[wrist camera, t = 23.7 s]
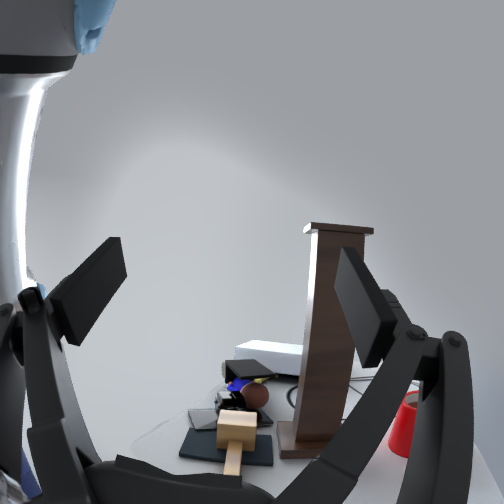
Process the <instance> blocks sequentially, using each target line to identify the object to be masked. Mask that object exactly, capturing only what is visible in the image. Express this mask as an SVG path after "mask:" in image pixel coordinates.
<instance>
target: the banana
mask: <svg viewBox="0 0 504 504" xmlns="http://www.w3.org/2000/svg"><path fill="white" fill-rule="evenodd" d="M278 376H279V375H278V374H276V377H278ZM266 379H268V378H261V379H255V380H254V381H255V382H258V383H262V382H263V381H264V380H266Z"/></svg>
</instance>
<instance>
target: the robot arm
mask: <svg viewBox="0 0 504 504" xmlns="http://www.w3.org/2000/svg"><path fill="white" fill-rule="evenodd" d="M116 1H117V0H0V504H342V503H343V502H344V500H345V499H346V498H347V496H348V495H349V494H350V492H351V491H352V490H353V488H354V487H355V485H356V483H357V482H358V478H359V476H360V474H361V473H362V471H363V470H364V468H365V467H366V465H367V464H368V462H369V460H370V459H371V457H372V456H373V454H374V452H375V451H376V449H377V448H378V446H379V444H380V442H381V441H382V439H383V437H384V436H385V434H386V432H387V430H388V428H389V427H390V425H391V423H392V421H393V419H394V417H395V415H396V413H397V411H398V409H399V407H400V405H401V403H402V401H403V399H404V397H405V395H406V393H407V390H408V388H409V386H410V384H411V382H412V380H418V381H420V385H419V395H418V404H417V412H416V419H415V426H414V432H413V437H412V443H411V448H410V453H409V458H408V462H407V466H406V470H405V474H404V478H403V482H402V486H401V489H400V493H399V496H398V499H397V503H396V504H467V500H468V494H469V487H470V479H471V470H472V458H473V439H474V437H473V436H474V411H473V391H472V378H471V368H470V360H469V352H468V345H467V341H466V339H465V338H464V337H463V336H462V335H461V334H459V333H458V332H455V331H448V332H446V333H444V335H443V337H442V339H438V338H432V337H428V335H427V332H426V331H425V330H424V329H423V328H421V327H420V326H418V325H414V324H412V323H411V321H410V319H409V318H408V316H407V314H406V313H405V311H404V309H403V308H402V306H401V304H400V303H399V301H398V300H397V298H396V296H395V295H394V294H393V293H391V292H390V291H389V290H382V289H380V288H379V286H378V284H377V283H376V281H375V279H374V278H373V276H372V274H371V273H370V271H369V270H368V268H367V266H366V265H365V263H364V261H363V260H362V258H361V257H360V255H359V253H358V252H357V250H356V249H355V247H346V246H342V249H341V255H340V260H339V265H338V270H337V275H336V280H335V285H334V288H335V291H336V293H337V296H338V299H339V301H340V304H341V307H342V310H343V312H344V315H345V318H346V321H347V324H348V327H349V329H350V332H351V335H352V338H353V341H354V344H355V347H356V350H357V353H358V356H359V359H360V362H361V366H362V368H374V367H378V365H379V363H380V361H381V359H383V363H382V365H381V367H380V368H379V370H378V372H377V373H376V375H375V377H374V378H373V380H372V381H371V383H370V385H369V386H368V388H367V389H366V391H365V392H364V394H363V395H362V397H361V398H360V400H359V401H358V403H357V404H356V406H355V407H354V409H353V410H352V412H351V413H350V414H349V416H348V417H347V419H346V420H345V421H344V423H343V424H342V425H341V427H340V428H339V429H338V431H337V432H336V433H335V435H334V436H333V437H332V438H331V440H330V441H329V442H328V444H327V445H326V446H325V447H324V448H323V450H322V451H321V452H320V453H319V454H318V455H317V456H316V457H315V458H314V459H313V460H312V461H311V462H310V463H309V464H308V465H307V466H306V468H305V469H304V470H303V471H302V472H301V473H300V474H299V475H298V476H297V477H296V478H295V480H294V481H293V482H292V483H291V484H290V485H289V486H288V487H287V488H286V489H285V490H284V491H283V492H282V493H281V494H280V495H279V496H278V497H277V498H274V497H273V496H272V495H271V494H269V493H268V492H266V491H265V490H263V489H261V488H259V487H257V486H254V485H252V484H249V483H246V482H242V476H240V475H225V474H214V473H203V474H190V475H173V474H170V473H168V472H166V471H163V470H161V469H159V468H157V467H155V466H153V465H151V464H148V463H146V462H144V461H140V460H136V459H132V458H128V457H125V456H121V455H118V454H117V457H116V460H115V461H104V462H102V460H101V459H100V457H99V456H98V454H97V452H96V450H95V448H94V446H93V443H92V441H91V438H90V436H89V433H88V430H87V428H86V425H85V422H84V419H83V417H82V414H81V411H80V408H79V404H78V401H77V398H76V395H75V392H74V388H73V384H72V381H71V377H70V373H69V369H68V366H67V361H66V357H65V352H64V348H63V344H62V342H61V338H62V337H63V335H64V336H65V338H66V340H67V342H68V344H72V345H76V346H80V345H81V343H82V342H83V340H84V338H85V337H86V336H87V334H88V332H89V331H90V329H91V328H92V326H93V325H94V323H95V322H96V320H97V319H98V317H99V316H100V314H101V313H102V311H103V310H104V308H105V307H106V305H107V304H108V303H109V301H110V300H111V298H112V297H113V295H114V294H115V293H116V291H117V290H118V288H119V287H120V285H121V284H122V283H123V281H124V280H125V278H126V277H127V273H126V268H125V263H124V257H123V252H122V247H121V240H120V237H109V238H108V239H107V240H106V241H105V242H104V243H103V244H102V245H101V246H99V247H98V248H97V249H96V251H94V252H93V253H92V254H91V255H90V256H89V257H88V258H87V259H86V260H85V261H84V262H83V263H82V264H81V265H80V266H79V267H78V268H77V269H76V270H75V271H74V272H73V273H72V274H70V275H68V276H67V277H65V278H64V279H63V280H62V281H61V282H60V283H59V285H57V286H56V287H55V289H53V290H52V291H51V292H50V293H49V294H48V296H47V295H46V288H45V287H44V286H43V285H41V284H39V283H36V280H35V278H34V275H33V273H32V272H31V270H30V269H29V268H28V267H27V266H26V256H25V255H26V252H25V233H26V232H25V231H26V209H27V196H28V186H29V177H30V170H31V163H32V157H33V151H34V145H35V140H36V135H37V131H38V126H39V122H40V118H41V114H42V110H43V106H44V102H45V99H46V96H47V92H48V90H49V88H50V86H51V85H52V84H54V83H55V82H56V81H58V80H59V79H61V78H62V77H64V76H65V75H67V74H68V73H70V72H71V70H72V67H73V65H74V62H75V60H76V57H77V55H78V53H81V54H83V55H84V54H90V53H93V52H94V51H95V50H96V49H97V47H98V45H99V43H100V40H101V38H102V34H103V32H104V29H105V27H106V24H107V22H108V20H109V17H110V15H111V12H112V10H113V8H114V5H115V3H116ZM26 389H27V397H28V404H29V410H30V416H31V422H32V428H28V429H27V438H28V442H29V447H30V451H31V456H32V459H33V463H34V467H35V470H36V474H37V477H38V480H39V483H40V487H41V490H42V493H41V494H40V495H38V496H36V497H34V498H32V499H30V500H28V499H27V496H26V494H24V493H23V492H22V489H21V487H20V485H21V477H22V425H23V409H24V400H25V390H26Z"/></svg>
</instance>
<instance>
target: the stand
mask: <svg viewBox="0 0 504 504" xmlns="http://www.w3.org/2000/svg"><path fill="white" fill-rule="evenodd" d="M304 233H307V234H312V241H311V259H310V274H309V287H308V300H307V311H306V322H305V332H304V342H303V351H302V359H301V368H300V376H299V383H298V391H297V398H296V405H295V412H294V418H293V422H287V421H278V423H277V436H278V446H279V456H280V458H281V459H292V458H315V457H316V456H317V455H318V454H319V453H320V452H321V451H322V450H323V448H324V447H325V446H326V445H327V444H328V442H329V441H330V440H331V438H332V437H333V436H334V435H335V433H336V432H337V431H338V429H339V428H340V427H341V425H342V423H341V421H342V417H343V412H344V407H345V403H346V398H347V393H348V388H349V382H350V377H351V371H352V365H353V358H354V352H355V344H354V341H353V338H352V335H351V332H350V329H349V327H348V324H347V321H346V318H345V315H344V312H343V310H342V307H341V304H340V301H339V299H338V296H337V293H336V291H335V288H334V285H335V280H336V275H337V270H338V265H339V260H340V255H341V249H342V246H346V247H355V249H356V250H357V252H358V253H359V255H360V257H361V258H362V260H363V261H364V243H365V241H364V240H365V236H368V235H372V234H373V233H374V228H369V227H360V226H350V225H339V224H328V223H316V222H311V223H309V224H308V225H307V226H306V227H304Z"/></svg>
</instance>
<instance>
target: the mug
mask: <svg viewBox="0 0 504 504" xmlns="http://www.w3.org/2000/svg"><path fill="white" fill-rule="evenodd" d="M418 395H419V390H417V391H411V392H408V393H406V395H405V397H404V399H403V401H402V403H401V405H400V407H399V409H398V412H397V415H396V419H395V422H394V425H393V429H392V432H391V435H390V438H389V441H388V446H389V448H390V449H391V450H392V451H393V452H394V453H396V454H397V455H400V456H403V457H407V458H409V453H410V448H411V443H412V437H413V432H414V426H415V419H416V412H417V404H418Z"/></svg>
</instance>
